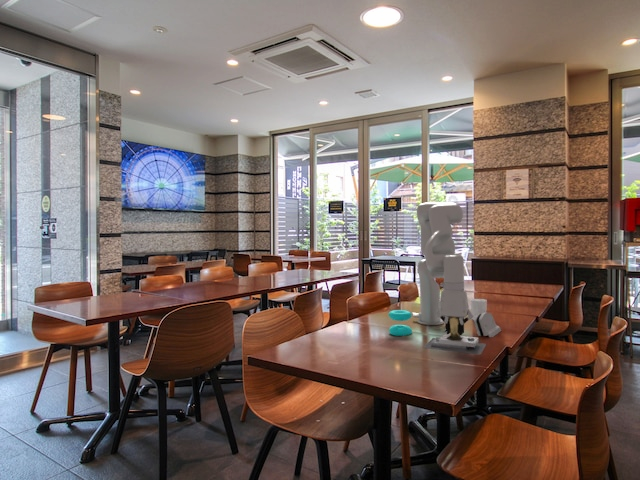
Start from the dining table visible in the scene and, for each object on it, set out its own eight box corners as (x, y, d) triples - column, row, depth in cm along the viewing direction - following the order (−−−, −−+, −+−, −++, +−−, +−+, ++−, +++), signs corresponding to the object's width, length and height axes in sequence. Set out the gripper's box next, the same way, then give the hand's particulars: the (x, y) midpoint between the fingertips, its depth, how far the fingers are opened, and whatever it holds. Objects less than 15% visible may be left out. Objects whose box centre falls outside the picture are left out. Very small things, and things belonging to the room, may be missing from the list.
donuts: (410, 314, 173) (386, 313, 177) (410, 337, 174) (387, 336, 177) (412, 310, 183) (390, 309, 186) (413, 332, 183) (391, 330, 186)
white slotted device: (490, 338, 169) (481, 315, 171) (479, 340, 172) (471, 317, 174) (501, 330, 182) (493, 309, 184) (491, 332, 185) (483, 311, 187)
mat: (422, 349, 156) (422, 347, 156) (432, 339, 170) (432, 338, 170) (480, 356, 146) (480, 354, 146) (486, 345, 160) (486, 343, 160)
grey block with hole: (431, 346, 158) (430, 337, 158) (436, 340, 166) (436, 332, 166) (474, 351, 150) (474, 341, 150) (478, 345, 158) (478, 336, 158)
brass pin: (448, 338, 157) (447, 312, 157) (450, 336, 160) (450, 311, 160) (459, 339, 155) (458, 313, 155) (461, 337, 158) (460, 311, 158)
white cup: (488, 318, 207) (488, 299, 207) (485, 321, 201) (485, 301, 201) (472, 317, 212) (472, 298, 211) (468, 320, 205) (468, 300, 205)
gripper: (429, 287, 158) (430, 334, 158) (475, 288, 150) (476, 338, 150) (434, 284, 165) (435, 330, 165) (478, 286, 157) (479, 334, 157)
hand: (454, 333), depth 158 cm, fingers closed on brass pin, 4 cm apart
